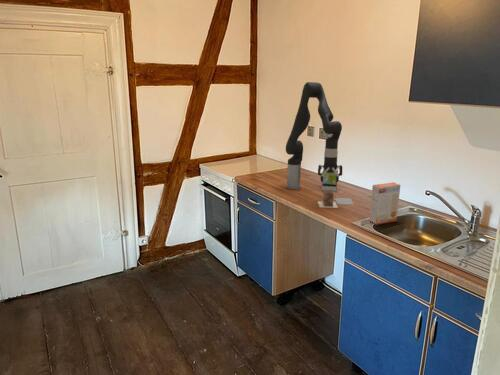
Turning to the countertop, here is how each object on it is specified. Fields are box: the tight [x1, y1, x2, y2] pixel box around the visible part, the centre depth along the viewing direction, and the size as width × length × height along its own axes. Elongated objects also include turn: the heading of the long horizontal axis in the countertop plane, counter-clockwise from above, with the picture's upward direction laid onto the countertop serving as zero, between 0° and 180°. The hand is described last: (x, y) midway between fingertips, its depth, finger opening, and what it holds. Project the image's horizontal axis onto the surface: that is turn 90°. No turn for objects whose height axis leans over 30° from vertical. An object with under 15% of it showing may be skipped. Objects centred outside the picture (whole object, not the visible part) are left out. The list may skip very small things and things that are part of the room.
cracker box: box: [369, 181, 401, 225], centre depth 201 cm, size 14×6×21 cm, turn 111°
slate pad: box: [333, 197, 355, 206], centre depth 236 cm, size 10×12×1 cm
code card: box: [317, 201, 339, 209], centre depth 231 cm, size 11×11×1 cm
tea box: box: [321, 167, 339, 192], centre depth 263 cm, size 15×10×15 cm
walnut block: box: [322, 190, 335, 206], centre depth 230 cm, size 5×7×8 cm
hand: (329, 182), depth 227 cm, fingers open, 8 cm apart
